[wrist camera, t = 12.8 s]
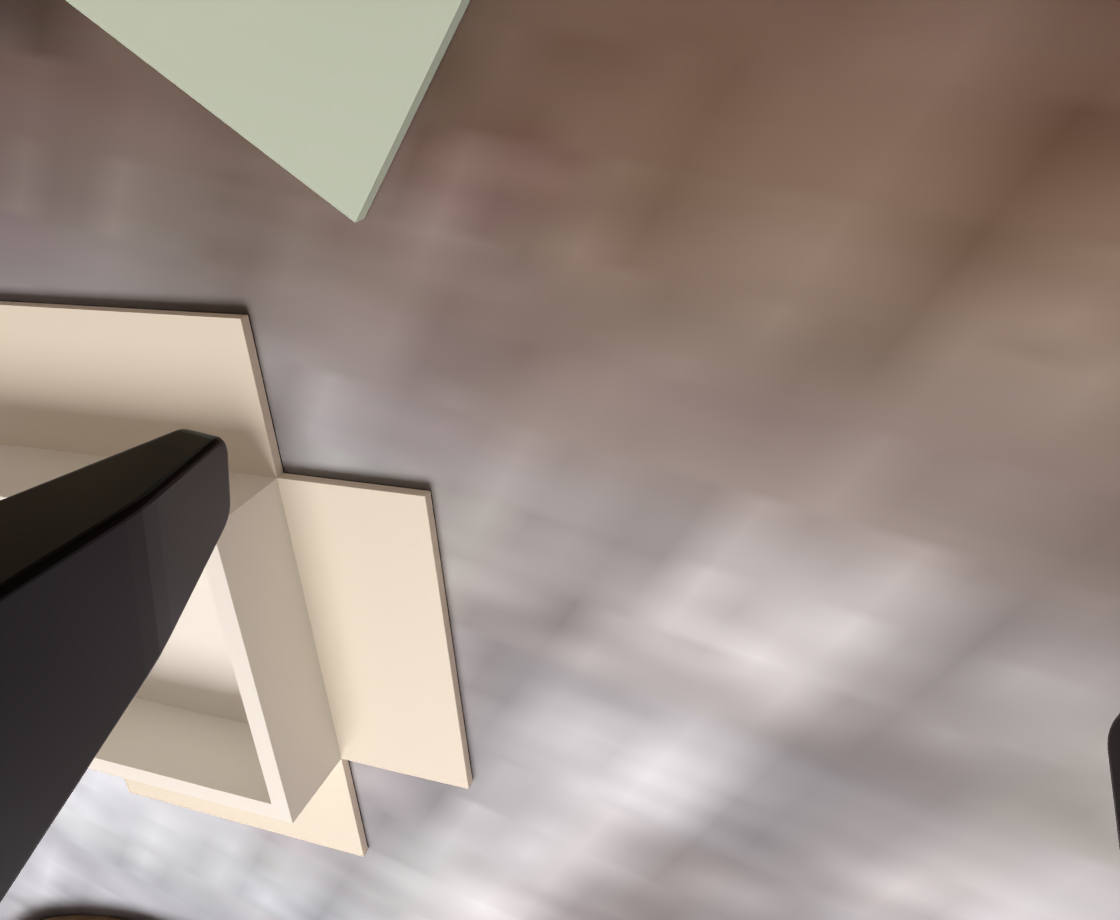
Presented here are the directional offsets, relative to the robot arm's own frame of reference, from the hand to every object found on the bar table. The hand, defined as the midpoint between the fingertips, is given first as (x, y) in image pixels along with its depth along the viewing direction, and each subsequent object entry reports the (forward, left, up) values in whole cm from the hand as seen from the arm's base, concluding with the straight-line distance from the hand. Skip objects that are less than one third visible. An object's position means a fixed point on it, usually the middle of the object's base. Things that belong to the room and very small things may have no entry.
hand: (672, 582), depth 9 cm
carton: (+8, +20, -11) cm, 25 cm away
